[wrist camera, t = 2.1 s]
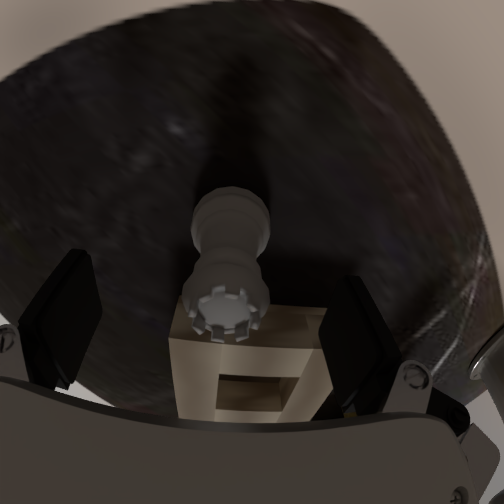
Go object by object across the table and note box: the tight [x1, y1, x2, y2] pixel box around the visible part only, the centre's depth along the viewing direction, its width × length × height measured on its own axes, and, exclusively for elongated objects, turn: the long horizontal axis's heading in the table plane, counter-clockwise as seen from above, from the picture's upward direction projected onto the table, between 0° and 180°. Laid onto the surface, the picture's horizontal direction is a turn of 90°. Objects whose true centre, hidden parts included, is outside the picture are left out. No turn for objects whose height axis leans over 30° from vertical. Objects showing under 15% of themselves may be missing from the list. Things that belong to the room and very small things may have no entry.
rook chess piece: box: [181, 186, 271, 343], centre depth 13 cm, size 4×4×8 cm
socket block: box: [169, 295, 333, 423], centre depth 21 cm, size 12×12×4 cm
